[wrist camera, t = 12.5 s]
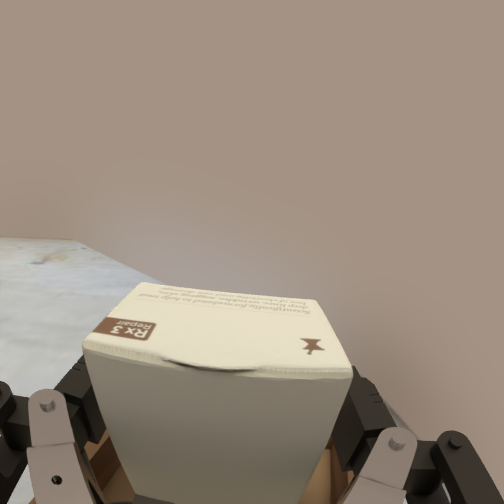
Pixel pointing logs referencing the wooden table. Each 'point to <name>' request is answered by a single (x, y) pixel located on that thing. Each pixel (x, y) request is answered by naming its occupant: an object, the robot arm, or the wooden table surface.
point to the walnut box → (119, 489)
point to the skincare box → (217, 392)
